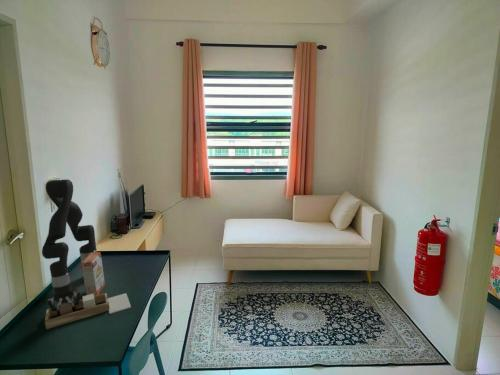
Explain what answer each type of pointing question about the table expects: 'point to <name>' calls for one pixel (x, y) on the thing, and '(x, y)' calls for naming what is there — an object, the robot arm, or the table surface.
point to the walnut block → (65, 308)
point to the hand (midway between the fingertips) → (67, 314)
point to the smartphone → (74, 295)
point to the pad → (118, 303)
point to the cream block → (88, 301)
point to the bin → (77, 312)
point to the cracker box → (93, 274)
